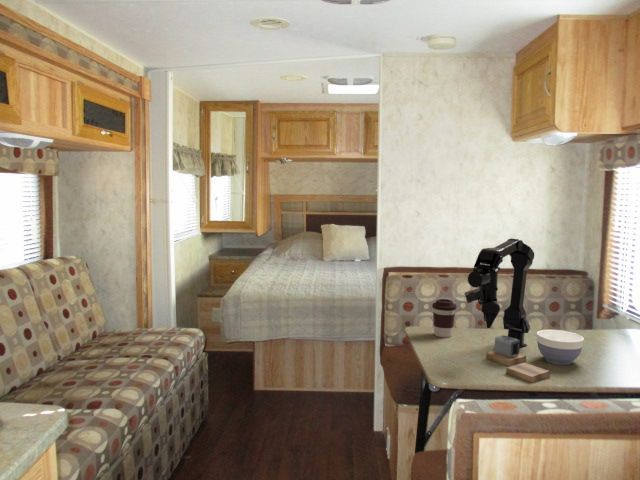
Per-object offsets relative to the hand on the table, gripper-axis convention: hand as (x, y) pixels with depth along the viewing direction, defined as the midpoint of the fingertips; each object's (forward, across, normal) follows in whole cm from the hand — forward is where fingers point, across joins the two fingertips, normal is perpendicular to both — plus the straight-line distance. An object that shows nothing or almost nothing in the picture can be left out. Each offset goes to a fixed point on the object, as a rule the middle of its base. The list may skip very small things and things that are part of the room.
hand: (487, 324), depth 205 cm
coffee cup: (+13, -26, -15) cm, 33 cm away
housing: (+11, 0, +7) cm, 13 cm away
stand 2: (+13, +15, +12) cm, 23 cm away
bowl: (+14, -4, +26) cm, 30 cm away
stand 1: (+13, 0, +7) cm, 15 cm away
